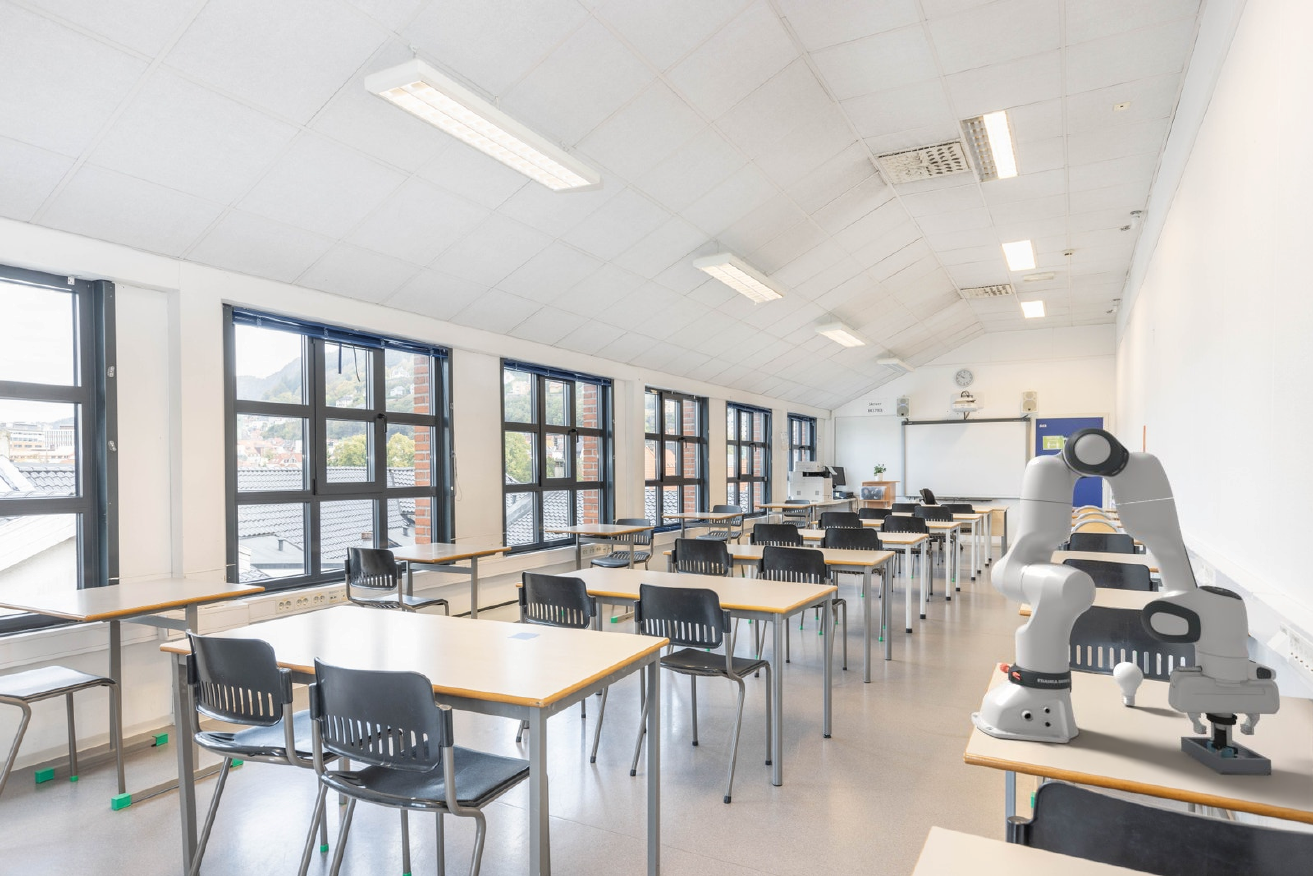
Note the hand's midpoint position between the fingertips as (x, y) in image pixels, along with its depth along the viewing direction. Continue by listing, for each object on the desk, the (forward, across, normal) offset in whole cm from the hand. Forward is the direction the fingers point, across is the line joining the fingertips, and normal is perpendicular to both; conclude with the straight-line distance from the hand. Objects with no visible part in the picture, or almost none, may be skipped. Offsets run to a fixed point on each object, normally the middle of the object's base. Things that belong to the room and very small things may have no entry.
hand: (1223, 733), depth 148 cm
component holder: (+6, 0, 0) cm, 6 cm away
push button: (+6, +1, 0) cm, 6 cm away
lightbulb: (+6, +1, +34) cm, 35 cm away
